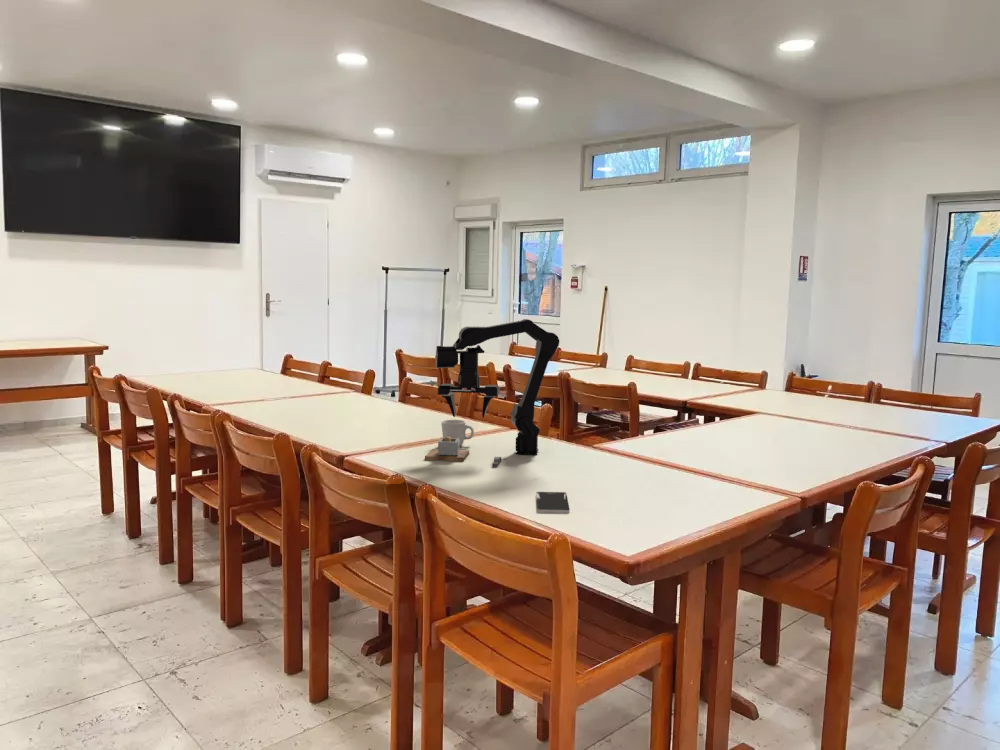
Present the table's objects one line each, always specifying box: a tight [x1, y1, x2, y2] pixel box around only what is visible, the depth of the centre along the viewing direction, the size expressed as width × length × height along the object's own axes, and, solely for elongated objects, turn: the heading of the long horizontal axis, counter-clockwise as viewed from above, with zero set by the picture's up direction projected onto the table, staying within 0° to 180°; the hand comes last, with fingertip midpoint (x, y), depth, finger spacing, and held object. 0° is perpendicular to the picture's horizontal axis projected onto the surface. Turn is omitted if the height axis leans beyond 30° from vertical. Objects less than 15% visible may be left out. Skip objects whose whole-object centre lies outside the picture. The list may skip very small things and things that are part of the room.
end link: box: [437, 437, 461, 455], centre depth 226 cm, size 6×6×4 cm
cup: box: [441, 419, 475, 446], centre depth 243 cm, size 11×8×8 cm
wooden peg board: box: [424, 437, 470, 462], centre depth 227 cm, size 12×10×6 cm
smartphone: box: [535, 490, 570, 514], centre depth 179 cm, size 8×1×15 cm
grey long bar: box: [491, 456, 502, 468], centre depth 219 cm, size 2×9×2 cm, turn 173°
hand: (468, 417), depth 229 cm, fingers open, 9 cm apart
